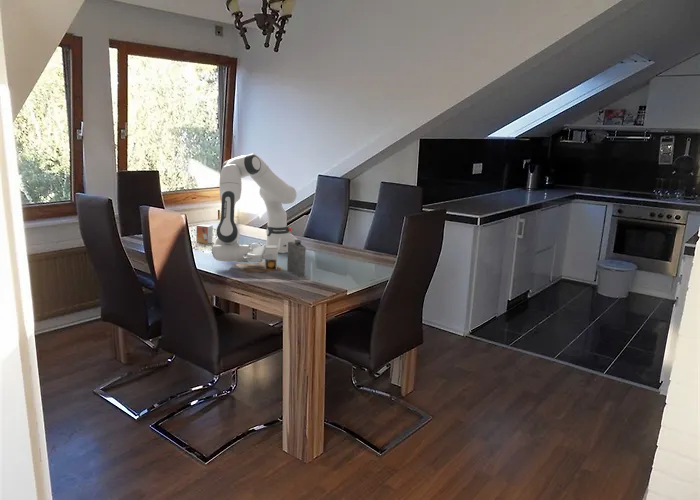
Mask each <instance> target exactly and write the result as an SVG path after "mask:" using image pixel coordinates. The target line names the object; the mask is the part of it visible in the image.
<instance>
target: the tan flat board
mask: <svg viewBox="0 0 700 500" xmlns="http://www.w3.org/2000/svg"><path fill="white" fill-rule="evenodd" d="M234 265H235V266H237V267H238V268H239V269H240V270H242V272H244V273H245V274H251V273H254V274H255V273H263V272H264V273H267V272H275V271H276V272H278V271H285V269H284V268H283V267H281V266H280V265H277V269H276V267H273V268H270V267H268V266H266V269H265V261H262V262H244V263H236V264H234Z"/></svg>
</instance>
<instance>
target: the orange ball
mask: <svg viewBox="0 0 700 500" xmlns="http://www.w3.org/2000/svg"><path fill="white" fill-rule="evenodd" d="M274 266H275V263H274V262H273V261H269V262H268V267H270V268H273V267H274Z"/></svg>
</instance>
